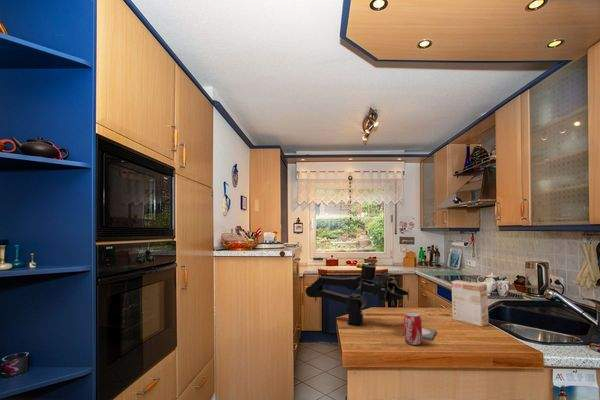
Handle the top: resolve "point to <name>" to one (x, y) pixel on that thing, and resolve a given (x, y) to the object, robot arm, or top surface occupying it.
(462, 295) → the coffeecake box
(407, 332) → the soda can
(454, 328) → the top surface
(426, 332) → the dock pad
